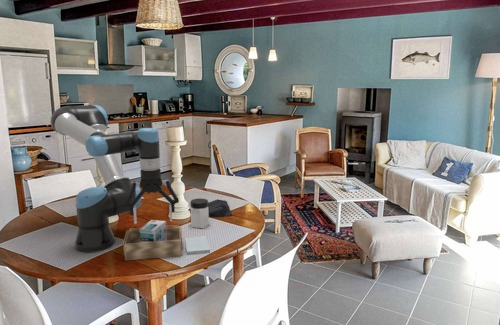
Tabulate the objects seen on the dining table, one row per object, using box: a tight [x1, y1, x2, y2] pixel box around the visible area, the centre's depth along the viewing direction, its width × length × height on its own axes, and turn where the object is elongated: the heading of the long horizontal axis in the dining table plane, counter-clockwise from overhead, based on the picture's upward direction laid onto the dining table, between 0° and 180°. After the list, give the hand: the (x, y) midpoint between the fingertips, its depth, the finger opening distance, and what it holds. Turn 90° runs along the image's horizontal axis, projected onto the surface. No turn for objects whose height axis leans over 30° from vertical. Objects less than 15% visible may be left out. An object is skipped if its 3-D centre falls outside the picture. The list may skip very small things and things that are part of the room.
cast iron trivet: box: [208, 198, 233, 218], centre depth 203 cm, size 15×22×5 cm
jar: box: [189, 197, 210, 229], centre depth 181 cm, size 9×8×12 cm
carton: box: [122, 225, 184, 261], centre depth 154 cm, size 22×16×7 cm
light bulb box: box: [139, 219, 167, 243], centre depth 154 cm, size 11×7×11 cm, turn 168°
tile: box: [184, 236, 211, 256], centre depth 158 cm, size 9×14×1 cm, turn 12°
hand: (153, 221), depth 153 cm, fingers open, 13 cm apart
